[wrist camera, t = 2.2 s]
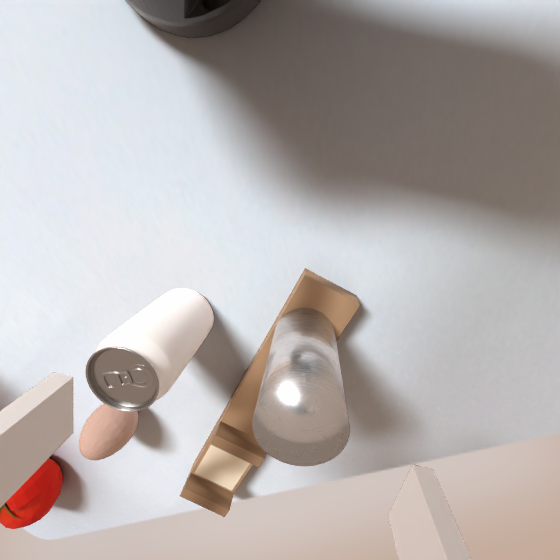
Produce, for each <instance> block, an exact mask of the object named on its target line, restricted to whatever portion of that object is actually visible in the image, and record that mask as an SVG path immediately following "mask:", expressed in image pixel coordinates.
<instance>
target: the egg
mask: <svg viewBox="0 0 560 560" xmlns="http://www.w3.org/2000/svg"><path fill="white" fill-rule="evenodd" d="M137 424H138V412H125V411H120V410H117V409H114V408H112V407H110V406H108V405H106V404H103V405H101V406H100V407H99V408H97V409H96V410H95V411H94V412H93V413H92V414H91V415H90V417H89V418H88V419H87V421H86V423H85V424H84V426H83V429H82V432H81V434H80V439H79V449H80V451H81V453H82V455H83V456H84V457H85V458H87V459H90V460H100V459H104V458H106V457H108V456H111V455H112V454H114V453H115V452H117V451H119V450H120V449H121V448H122V447H123V446H124V445H126V443H127V442H128V441H129V440H130V439H131V437H132V436H133V434H134V432H135V430H136V427H137Z"/></svg>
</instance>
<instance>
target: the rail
mask: <svg viewBox="0 0 560 560" xmlns="http://www.w3.org/2000/svg"><path fill="white" fill-rule="evenodd" d="M359 306H360V303H359V300H358V298H357V296H356V295H354V294H353V293H351V292H349V291H347V290H345V289H343V288H341V287H339V286H337V285H336V284H334V283H332V282H330V281H328V280H326V279H324V278H322V277H321V276H319V275H317V274H315V273H313V272H311V271H309V270H307V269H305V270H304V272H303V273H302V275H301V277H300V279H299V280H298V282H297V284H296V285H295V287H294V289H293V291H292V292H291V294H290V296H289V298H288V299H287V301H286V303H285V305H284V306H283V308H282V310H281V312H280V313H279V315H278V317H277V319H276V320H275V322H274V324H273V326H272V327H271V329H270V331H269V333H268V334H267V336H266V338H265V340H264V341H263V343H262V345H261V347H260V348H259V350H258V352H257V354H256V355H255V357H254V359H253V361H252V362H251V364H250V366H249V368H248V369H247V371H246V373H245V375H244V376H243V378H242V380H241V382H240V383H239V385H238V387H237V389H236V390H235V392H234V394H233V395H232V397H231V399H230V401H229V402H228V404H227V406H226V408H225V409H224V411H223V413H222V415H221V416H220V418H219V420H218V422H217V423H216V425H215V427H214V429H213V430H212V432H211V434H210V436H209V437H208V439H207V441H206V443H205V444H204V446H203V448H202V450H201V451H200V453H199V455H198V457H197V458H196V460H195V462H194V464H193V466H192V469H191V471H190V473H189V476H188V478H187V480H186V483H185V485H184V487H183V490H182V492H181V495H180V496H181V497H183V498H185V499H187V500H189V501H191V502H194V503H196V504H198V505H200V506H202V507H204V508H206V509H208V510H211V511H213V512H215V513H217V514H219V515H221V516H223V517H225V516H226V514H227V513H228V511H229V510H230V506H231V502H232V498H233V494H234V492H235V491H236V489H237V488H238V486H239V485H240V483H241V482H242V480H243V479H244V477H245V476H246V474H247V473H248V471H249V470H250V468H251V467H252V465H254V466H256V467H259V466H260V465H261V463H262V462H263V460H264V458H265V452H266V451H264V450H263V448H262V447H261V446H260V445H259V443H258V442H257V440H256V438H255V436H254V433H253V427H252V421H253V415H254V411H255V407H256V403H257V400H258V396H259V392H260V388H261V384H262V380H263V376H264V372H265V368H266V364H267V360H268V356H269V352H270V348H271V344H272V340H273V336H274V332H275V328H276V325H277V323H278V321H279V320H280V318H281V317H282V316H283V315H284V314H286V313H287V312H289V311H291V310H294V309H297V308H311V309H315V310H317V311H319V312H321V313H323V314H324V315H325V316H326V317H327V318H328V319H329V320H330V321H331V323H332V325H333V327H334V331H335V337H336V340H337V339H338V338H339V336H340V335H341V333H342V332H343V330H344V329H345V327H346V326H347V324H348V323H349V321H350V320H351V318H352V317H353V315H354V314H355V312H356V311H357V309H358V308H359Z"/></svg>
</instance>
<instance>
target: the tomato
mask: <svg viewBox="0 0 560 560" xmlns="http://www.w3.org/2000/svg"><path fill="white" fill-rule="evenodd" d="M62 481H63V475H62V472H61V469H60V467H59V465H58V464H57V463H56V462H55V461H53V460H51V459H47V460H46V461H45V462H44V463H43V464H42V465H41V466H40V467H39V468H38V470H37V471H36V472H35V473H34V474H33V475H32V476H31V477H30V478H29V479H28V480H27V481H26V482H25V483H24V484H23V485H22V486H21V487H20V488H19V489H18V490H17V491H16V492H15V493H14V494H13V495H12V496H11V497H10V498H9V499H8V500H7V502H6V503H5V504H4V505H3V506H2V507H1V508H0V523H1V524H3V525H4V526H5V527H6V528H11V529H15V528H21V527H25V526H28V525H31V524H33V523H34V522H36V521H38V520H40V519H41V518H42V517H43V516H45V515H46V514H47V513H48V512H49V511H50V509H51V508H52V506H53V504H54V503H55V501H56V499H57V498H58V496H59V495H60V492H61V488H62Z"/></svg>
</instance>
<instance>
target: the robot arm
mask: <svg viewBox="0 0 560 560" xmlns="http://www.w3.org/2000/svg"><path fill="white" fill-rule="evenodd" d="M126 1H127V2H128V3H129V4H130V5H131V6H132V7H133V8H134V9H135V10H136V11H137V12H138V13H139V14H140V15H141V16H142V17H143V18H144V19H146V20H147V21H148V22H150V23H151V24H153V25H154V26H156V27H158V28H160V29H162V30H164V31H166V32H169V33H172V34H175V35H179V36H185V37H204V36H210V35H214V34H217V33H220V32H222V31H224V30H227V29H229V28H230V27H232V26H234V25H235V24H237V23H238V22H240V21H241V20H242V19H243V18H245V17H246V16H247V15H248V14H249V13H250V12H251V11H252V10H253V9H254V8H255V7H256V5H257V4H258V3H259V2H260V0H126ZM72 433H73V377H71V376H67V375H63V374H59V373H55V372H54V373H52V374H51V375H49V376H48V377H47V378H45V379H44V380H43V381H41V382H40V383H38V384H37V385H36V386H34V387H33V388H31V389H30V390H29V391H27V392H26V393H24V394H23V395H22V396H20V397H19V398H17V399H16V400H15V401H13V402H12V403H11V404H9V405H8V406H6V407H5V408H4V409H2V410H1V411H0V508H1V507H2V506H3V505H4V504H5V503H6V502H7V500H8V499H9V498H10V497H11V496H12V495H13V494H14V493H15V492H16V491H17V490H18V489H19V488H20V487H21V486H22V485H23V484H24V483H25V482H26V481H27V480H28V479H29V478H30V477H31V476H32V475H33V474H34V473H35V472H36V471H37V470H38V468H39V467H40V466H41V465H42V464H43V463H44V462H45V461H46V460H47V459H48V458H49V457H50V456H51V455H52V454H53V453H54V452H55V451H56V450H57V449H58V448H59V447H60V446H61V445H62V444H63V443H64V442H65V441H66V440H67V439H68V438H69V437H70V435H71V434H72ZM388 517H389V522H390V526H391V530H392V534H393V539H394V543H395V547H396V551H397V556H398V560H472V558H471V556H470V554H469V551H468V549H467V547H466V545H465V542H464V540H463V538H462V535H461V533H460V531H459V528H458V526H457V524H456V521H455V519H454V517H453V514H452V512H451V510H450V507H449V505H448V503H447V500H446V499H445V496H444V494H443V491H442V489H441V487H440V484H439V482H438V480H437V477H436V475H435V473H434V470H432V469H429V468H425V467H422V466H418V465H414V464H412V466H411V468H410V471H409V473H408V475H407V477H406V479H405V481H404V483H403V485H402V487H401V489H400V491H399V493H398V495H397V498H396V499H395V502H394V504H393V506H392V508H391V510H390V512H389V514H388Z"/></svg>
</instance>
